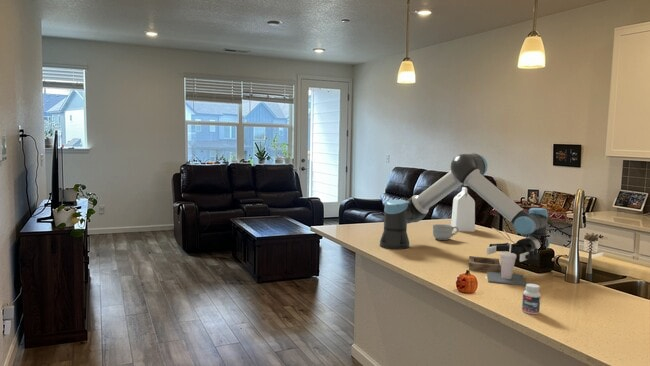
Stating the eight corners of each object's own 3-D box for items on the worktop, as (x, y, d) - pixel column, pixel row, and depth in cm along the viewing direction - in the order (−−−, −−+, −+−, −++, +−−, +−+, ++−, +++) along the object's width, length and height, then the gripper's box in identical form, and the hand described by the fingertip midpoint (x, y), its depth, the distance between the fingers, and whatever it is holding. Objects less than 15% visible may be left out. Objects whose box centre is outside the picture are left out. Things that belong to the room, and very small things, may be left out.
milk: (474, 231, 288) (477, 189, 286) (455, 231, 289) (457, 188, 286) (469, 227, 300) (471, 186, 298) (450, 227, 301) (452, 186, 298)
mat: (488, 282, 186) (488, 280, 186) (486, 272, 200) (487, 271, 200) (526, 286, 182) (526, 284, 182) (522, 276, 196) (522, 274, 196)
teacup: (430, 240, 261) (431, 225, 260) (433, 236, 271) (434, 222, 270) (456, 242, 256) (457, 228, 255) (458, 238, 266) (459, 224, 265)
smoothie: (513, 281, 187) (516, 246, 185) (496, 277, 190) (499, 243, 189) (516, 277, 192) (519, 243, 191) (499, 274, 195) (502, 240, 194)
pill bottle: (521, 313, 154) (523, 286, 153) (521, 307, 159) (523, 282, 158) (539, 315, 152) (541, 288, 151) (539, 310, 157) (541, 284, 156)
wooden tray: (468, 269, 204) (469, 262, 203) (468, 262, 215) (469, 256, 215) (499, 272, 200) (500, 265, 200) (498, 265, 212) (498, 258, 212)
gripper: (556, 261, 194) (534, 270, 179) (498, 249, 212) (474, 257, 197) (558, 243, 193) (536, 251, 178) (499, 233, 211) (475, 239, 197)
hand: (503, 254), depth 188 cm, fingers open, 13 cm apart
